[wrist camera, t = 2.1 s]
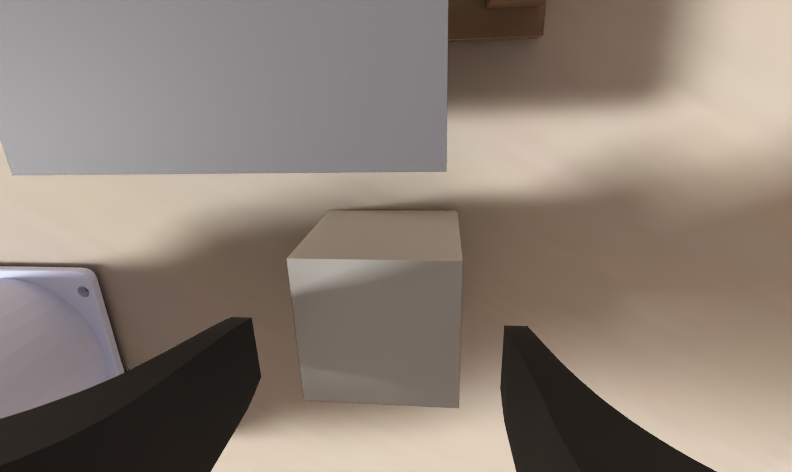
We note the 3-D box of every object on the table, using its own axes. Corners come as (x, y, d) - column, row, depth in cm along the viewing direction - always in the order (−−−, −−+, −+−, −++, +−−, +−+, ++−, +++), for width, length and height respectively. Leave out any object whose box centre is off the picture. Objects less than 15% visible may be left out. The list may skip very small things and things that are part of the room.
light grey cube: (454, 323, 18) (458, 408, 14) (338, 320, 19) (303, 400, 14) (457, 209, 16) (462, 261, 12) (329, 209, 17) (286, 258, 12)
